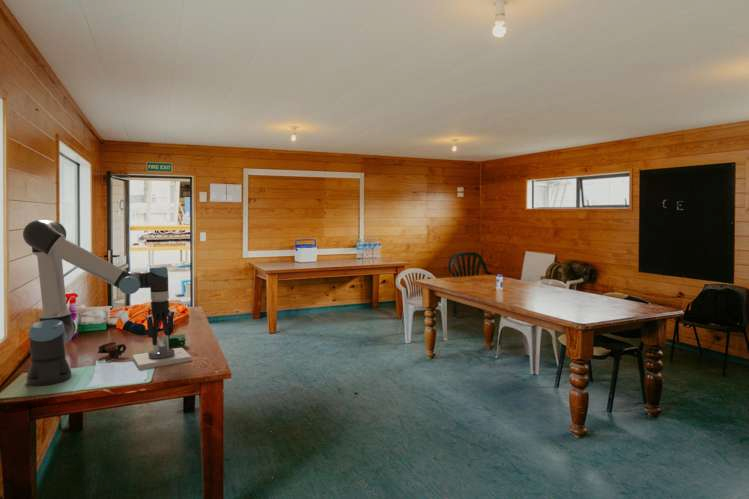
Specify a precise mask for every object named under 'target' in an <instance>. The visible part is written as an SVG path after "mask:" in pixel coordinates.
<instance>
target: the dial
mask: <svg viewBox="0 0 749 499" xmlns="http://www.w3.org/2000/svg"><path fill="white" fill-rule="evenodd" d="M173 349H174V348H169V349H168V350H167V348H166V345H165V344H164V343H163V342H162V341H161V339H159V352H154V350H150V351H149V352H147V353H148V357H149V358H151V359H163V358H168V357H171V356H173V355H174V350H173Z"/></svg>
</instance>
